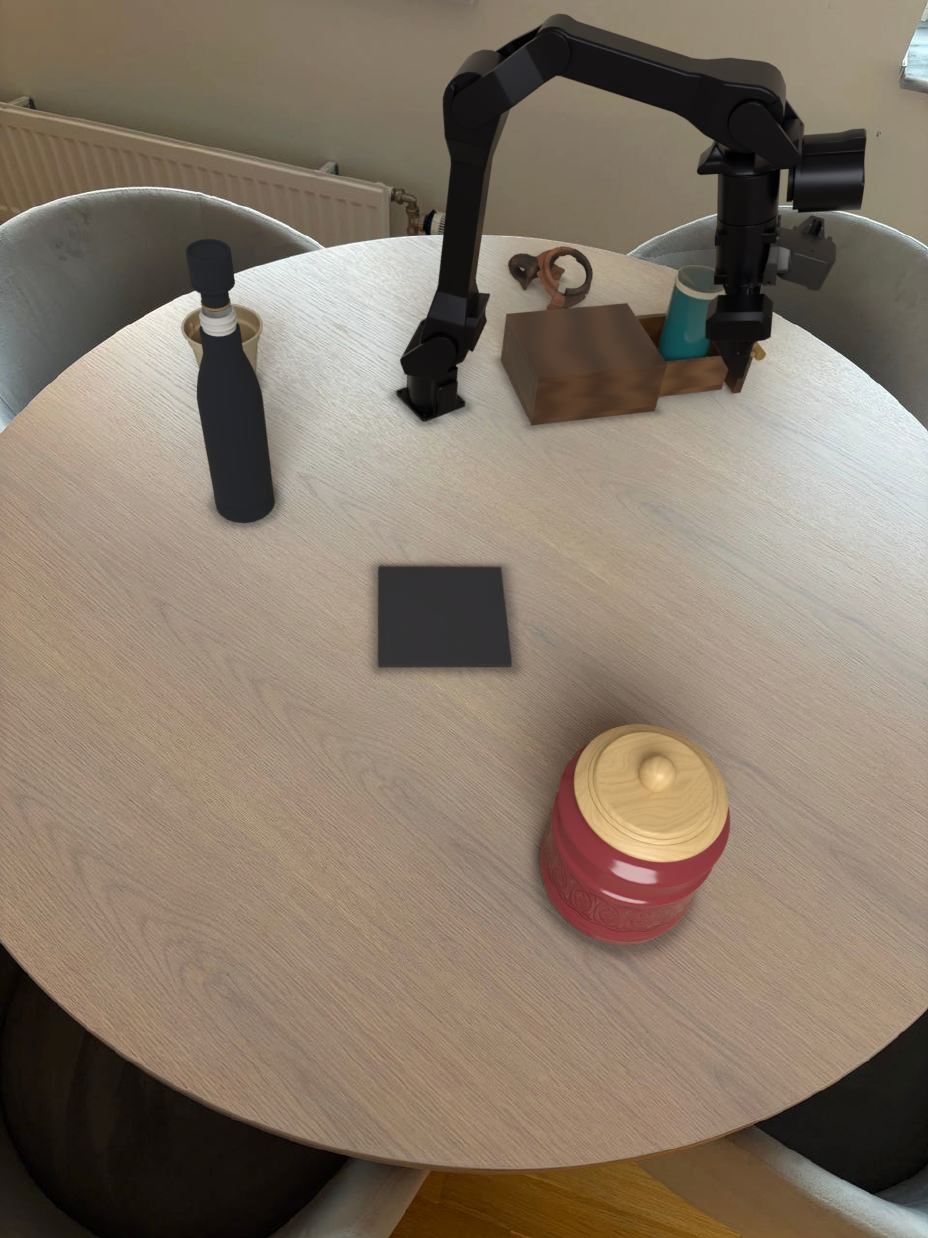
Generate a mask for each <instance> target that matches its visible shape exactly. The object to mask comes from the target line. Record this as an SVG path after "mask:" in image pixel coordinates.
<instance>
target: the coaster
mask: <svg viewBox="0 0 928 1238" xmlns="http://www.w3.org/2000/svg"><path fill="white" fill-rule="evenodd" d="M377 589H378V596H377V597H378V602H377V603H378V608H377V609H378V610H377V611H378V614H377V616H378V617H377V618H378V619H377V625H378V626H377V627H378V628H377V629H378V631H377V632H378V634H377V635H378V636H377V638H378V639H377V641H378V643H377V645H378V649H377V653H378V654H377V656H378V657H377V658H378V659H377V662H378V665H377V667H378V668H512V657H511V647H510V638H509V630H508V621H507V620H508V619H507V611H506V603H505V592H504V584H503V574H502V567H499V566H498V567H496V566H495V567H492V566H491V567H490V566H486V567H483V566H482V567H481V566H479V567H478V566H477V567H475V566H378V588H377Z"/></svg>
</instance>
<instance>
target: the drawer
mask: <svg viewBox="0 0 928 1238" xmlns="http://www.w3.org/2000/svg"><path fill="white" fill-rule="evenodd" d="M635 316H636V317H637V319H638V320H639V322H640V323H641V325H642V326H643V328H644V329H645V331H646V332H647V334H648V335H649V337H650V339H651V340H652V342H653V343H654V345H655V346H656V348H657V347H658V343H659V339H660V335H661V331H662V328H663V324H664V320H665V316H666V312H660V313H651V314H638V315H635ZM766 356H767V353H766V351H765V350H764V348H763V347H762V346H761V345H760V343H759V341H757V342H756V343H755V344H754V346H753V349H752V352H751V355H750V358H749V361H748V365H747V368H746V371H745V375H744V378H742V379H733V378H732V376H731V374H730V372H729V370H728V368H727V367H726V365H725V363H724V361H723V359H722V357H721V355H720V354H719V352H718V350H717V349H716V347H715V345H714V344H713V342H712V341H711V343H710V346H709V349H708V353H707V356H706V357H704V358H694V359H684V360H675V361H666V363H667V368H666V372H665V375H664V379H663V382H662V386H661V390H660V393H659V397H667V396H677V395H684V394H685V395H686V394H693V393H702V392H710V391H721V390H722V389H723V386H724V384H725V385H726V386H727V388H728V389H729V391H730V393H732V394H741V393H742V390H743V387H744V385H745V382H746V379H747V377H748V373H749V370H750V368H751V365H752V362H753V359H755V360H756V361H763V360H764V359H765V358H766Z"/></svg>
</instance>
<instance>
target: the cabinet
mask: <svg viewBox="0 0 928 1238" xmlns="http://www.w3.org/2000/svg"><path fill="white" fill-rule="evenodd" d="M636 316H637V315H636V314H635V312H634V311H633V309H632V308H631V307H630V305H629V304H628V302H625V303H623V302H622V303H612V304H602V305H590V306H589V305H588V306H579V307H578V306H577V307H570V308H566V309H563V308H562V309H555V310H547V309H545V310H533V311H521V312H511V313H506V314H505V322H504V329H503V330H504V331H503V338H502V340H503V341H502V348H501V357H500V363H501V364H502V367H503V369H504V371H505V373H506V375H507V377H508V379H509V381H510V383H511V386H512V388H513V390H514V392H515V394H516V396H517V398H518V400H519V402H520V404H521V407H522V409H523V411H524V413H525V415H526V417H527V419H528V421H529V423H530V425H531V426H537V425H548V424H555V423H564V422H572V421H582V420H589V419H597V418H599V419H600V418H608V417H615V416H616V417H617V416H623V415H633V414H641V413H651V412H655V410H656V407H657V405H658V400H659V397H660V396H659V393H660V390H661V386H662V382H663V379H664V375H665V372H666V368H667V363H666V361H665V360H664V358H663V357H662V355H661V354H660V352H659V351H658V349H657V348H656V346H655V345H654V343H653V342H652V340H651V339H650V337H649V335H648V334H647V332H646V331H645V329H644V328H643V326H642V325H641V323H640V322H639V320H638V319H637V317H636Z"/></svg>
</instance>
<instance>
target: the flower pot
mask: <svg viewBox="0 0 928 1238" xmlns="http://www.w3.org/2000/svg"><path fill="white" fill-rule="evenodd" d="M231 305H232V306H233V309H234V310H235V312H236V319H237V323H238V324H239V325H240V330H241V338H242V346H243V351H244V352H245V354H246V356H247V358H248V360H249V361H250V363H251V365H252V367H253V369H254V371H255V374H256V375H257V366H258V362H257V361H258V344H259V341H260V339H261V336H260V335H261V334H262V333H263V328H264V325H263V319H262V317H261V315H259V314H258V313H257V312H256V311H255V310H253V309H251V308H250V307H247V306H246V305H241V304H235V303H232V302H231ZM200 309H201V307H198V308H196V309H194V310H192V311H191V312H189V313H188V314H187V315H186V316H185V317H184V318H183V320H182V322H181V324H180V330H181V334H182V337H183V338H184V339H185V340H186V341H187V343H188V345H189V347H190V348H191V350H192V352H193V355H194V357H195V360H196V363H197V366H198V369H199V368H200V363H201V359H202V355H203V350H202V344H201V338H200V332H199V328H200V325H201V324H200V318H199V314H200Z"/></svg>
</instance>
